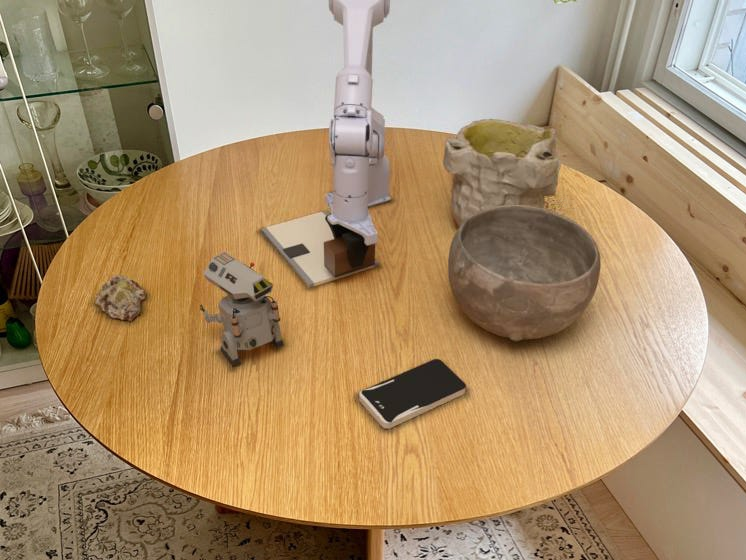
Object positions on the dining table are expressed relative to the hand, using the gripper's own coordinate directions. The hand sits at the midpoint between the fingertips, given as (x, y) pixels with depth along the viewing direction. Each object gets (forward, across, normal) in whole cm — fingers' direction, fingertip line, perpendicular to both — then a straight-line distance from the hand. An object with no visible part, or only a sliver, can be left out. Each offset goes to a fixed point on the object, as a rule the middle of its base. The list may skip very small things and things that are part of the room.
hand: (350, 258), depth 131 cm
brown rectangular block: (+1, 0, 0) cm, 1 cm away
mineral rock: (+4, -11, -38) cm, 39 cm away
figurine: (+4, +8, -24) cm, 25 cm away
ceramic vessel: (+4, -2, +34) cm, 35 cm away
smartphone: (+4, +31, -6) cm, 32 cm away
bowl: (+4, +23, +18) cm, 30 cm away
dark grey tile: (+3, -10, -6) cm, 12 cm away
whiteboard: (+4, -10, -1) cm, 11 cm away
